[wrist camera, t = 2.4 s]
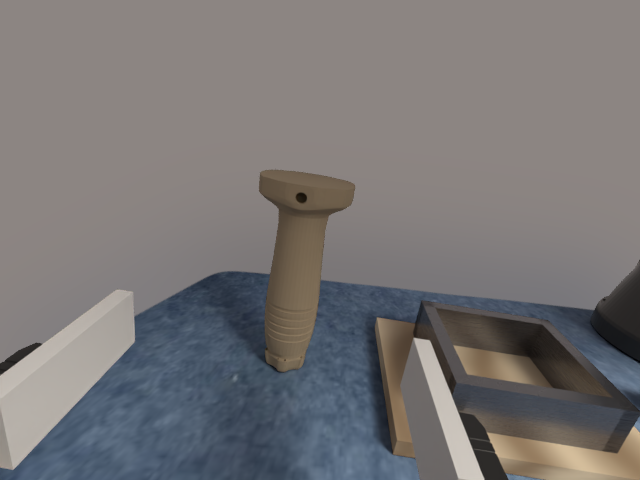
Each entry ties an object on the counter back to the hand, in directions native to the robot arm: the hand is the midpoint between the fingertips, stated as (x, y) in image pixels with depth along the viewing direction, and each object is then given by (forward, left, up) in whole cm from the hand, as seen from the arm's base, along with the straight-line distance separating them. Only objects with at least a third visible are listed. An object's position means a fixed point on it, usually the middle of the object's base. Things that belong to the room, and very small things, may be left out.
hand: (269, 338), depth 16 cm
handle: (0, -10, -9) cm, 13 cm away
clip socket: (-17, -10, -8) cm, 21 cm away
